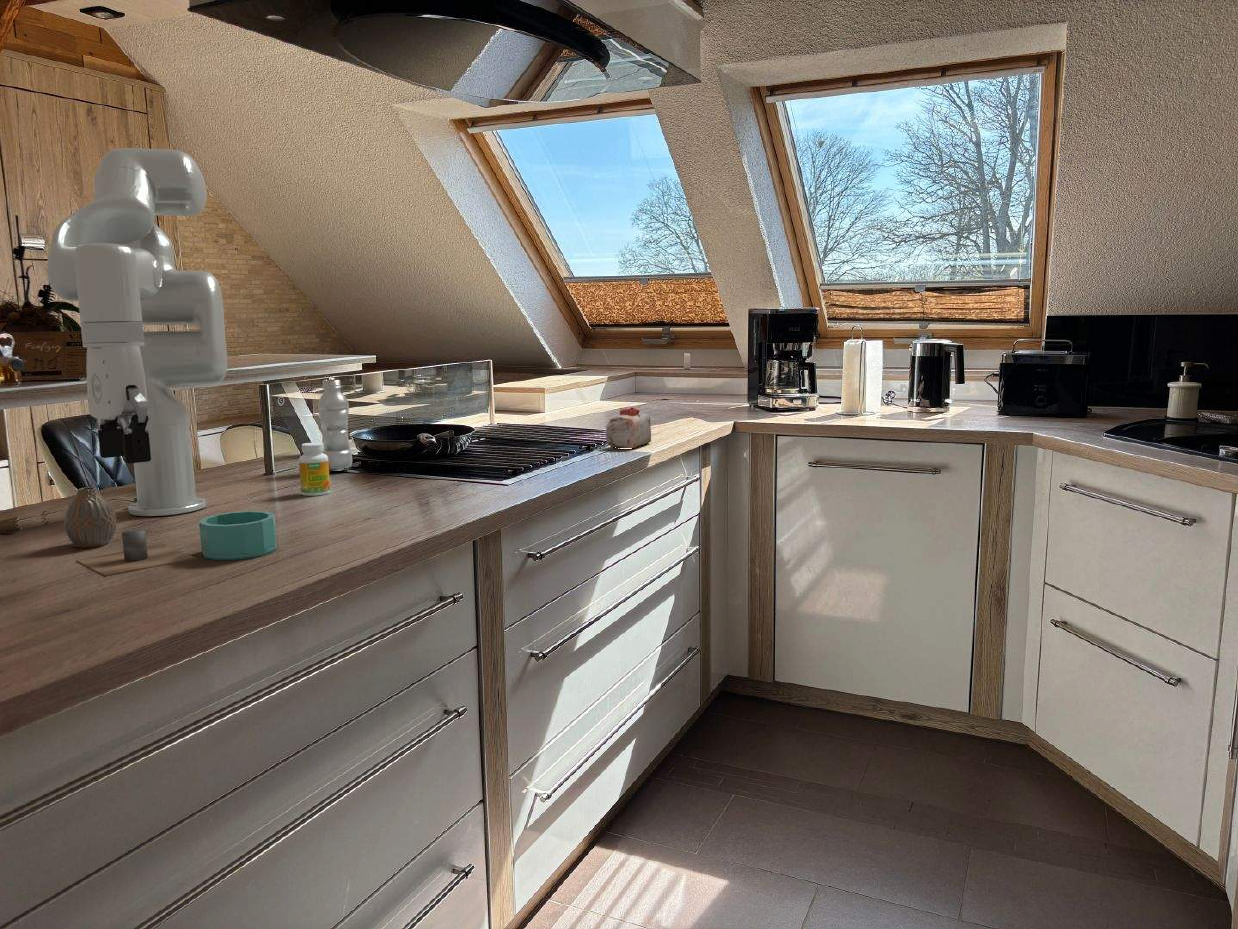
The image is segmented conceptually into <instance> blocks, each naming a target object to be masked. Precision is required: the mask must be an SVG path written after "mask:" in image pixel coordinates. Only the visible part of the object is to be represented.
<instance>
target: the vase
mask: <svg viewBox="0 0 1238 929" xmlns="http://www.w3.org/2000/svg"><path fill="white" fill-rule="evenodd" d="M63 519H64V520H63V522H64V523H63V524H64V530H65V532H66V535H67V537H68V539H69V540H70V542H71V543H73V544H74V546H77V547H78V548H82V549H83V548H84V549H87V548H97V547H102V546H105V545H108V543H110V541H111V540H112V539H113V538H114V536H115V533H116V531H117V530H116V529H117V516H116V512H115V510H114V507H113V506H112V504H111V503H110V502H109V501H108V500H107V499H106V498H105V497H104V496H103V495H102V494H101V493H100V492H99V490H98V489H97V487H93V486H88V487H87V486H86V487H81V488H77V492H76V493H75V496H74V497H73V499H72V500H71V502H70V503H69V504H68V506H67V508H66V510H65V514H64V518H63Z"/></svg>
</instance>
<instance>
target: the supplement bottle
mask: <svg viewBox="0 0 1238 929" xmlns="http://www.w3.org/2000/svg"><path fill="white" fill-rule="evenodd" d="M323 451H324V446H323V443H322V442H305V443H302V444H301V452H302V453H303V454H302V455H300V456H299V458H298V467H299V479H300V480H299V482H300V493H301V495H302V496H308V497H318V496H319V495H320V496H325V495H328V494H330V493H331V484H330V483H331V481H330V471H329V464H328V456H327V455H325V454H323ZM329 492H330V493H329Z"/></svg>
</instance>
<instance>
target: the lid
mask: <svg viewBox="0 0 1238 929" xmlns="http://www.w3.org/2000/svg"><path fill="white" fill-rule="evenodd" d="M146 534H147V533H146V529H144V528H135V529H128V530H123V531H122V532H121V539H122V540H121V541H122V548H123V551H118V552H114V553H108V554H103V555H97V556H91V557H86V558H80V559H76V562H77V563H79V564H80V565H83V566H85V567H87V568H88V569H90V570H92V571H94V572H95V573H98V574H100V575H102V576H104V577H105V578H106V577H109V576H115V575H116V576H117V575H121V574H126V573H127V574H128V573H131V572H136V571H141V570H147V569H152V568H155V567H162V566H166V565H171V564H177V563H182V562H188V561H192V560H197V557H196V556H193V555H190V554H188V553H185V552H183V551H181V550H179V549H176V548H173V547H171V546H168V545H167V544H158V545H152V546H151V545H150V546H148V544H147V535H146Z"/></svg>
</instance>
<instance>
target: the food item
mask: <svg viewBox="0 0 1238 929" xmlns="http://www.w3.org/2000/svg"><path fill="white" fill-rule="evenodd" d="M651 421H652V419H651V414H649V413H648V412H645V411H641V410H639V409H636V408H634V407H630V408H621V407H619V415H618V416H615V417H613V418H611V419H609V420H608V422H607V424H606V425H605V429H606V431H605V438H606V439H605V441H606V443H607V446H609V447H610V448H611V447H616V448H634V449H636V448H638V446H639V447H641V445H642V446H645V445H648V444H650V443H652V442H651V441H652V429H651V428H652V426H651V425H652V424H651V423H652V422H651ZM649 442H650V443H649ZM647 443H648V444H647ZM644 444H645V445H644Z"/></svg>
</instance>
